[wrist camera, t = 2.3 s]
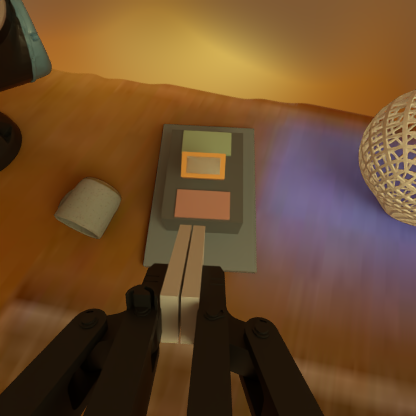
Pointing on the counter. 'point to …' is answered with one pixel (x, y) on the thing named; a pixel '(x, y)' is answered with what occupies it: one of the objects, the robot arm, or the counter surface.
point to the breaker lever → (203, 165)
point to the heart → (365, 167)
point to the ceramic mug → (89, 207)
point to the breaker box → (206, 198)
